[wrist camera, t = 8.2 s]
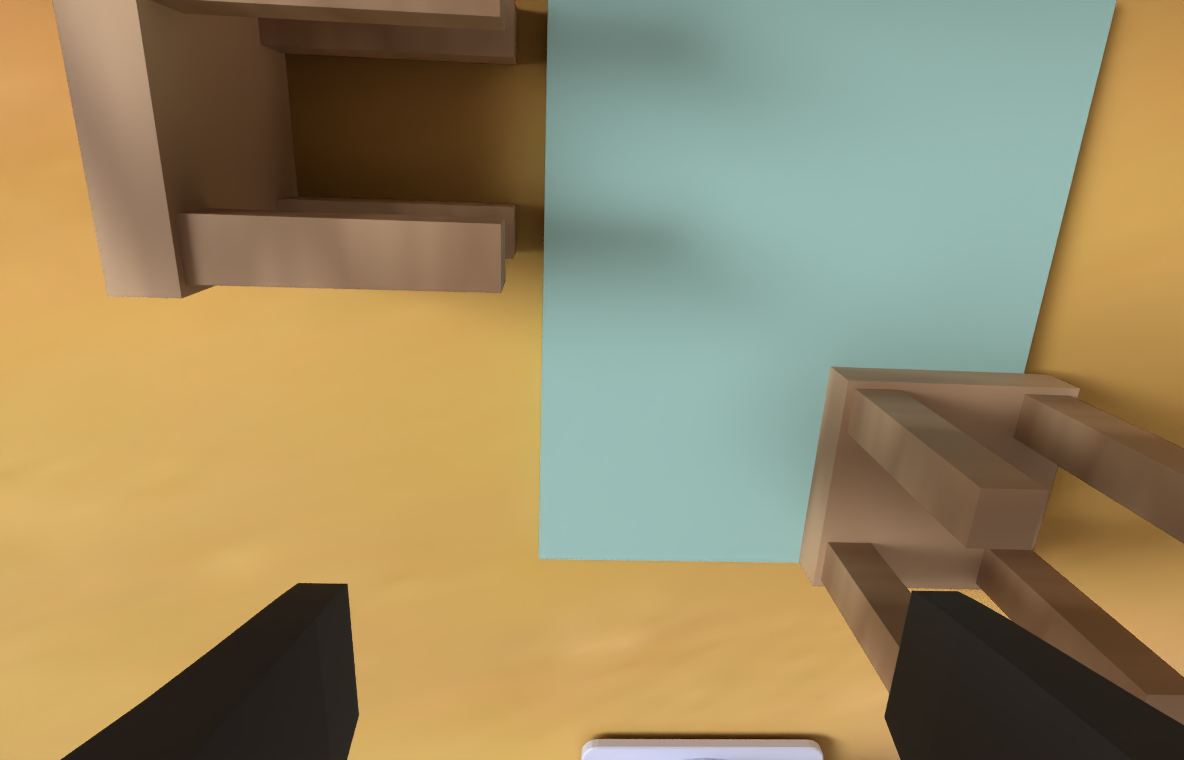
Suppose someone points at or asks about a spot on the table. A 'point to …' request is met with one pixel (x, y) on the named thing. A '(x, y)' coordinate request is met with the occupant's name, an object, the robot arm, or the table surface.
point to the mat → (780, 240)
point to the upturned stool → (977, 507)
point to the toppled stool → (260, 146)
